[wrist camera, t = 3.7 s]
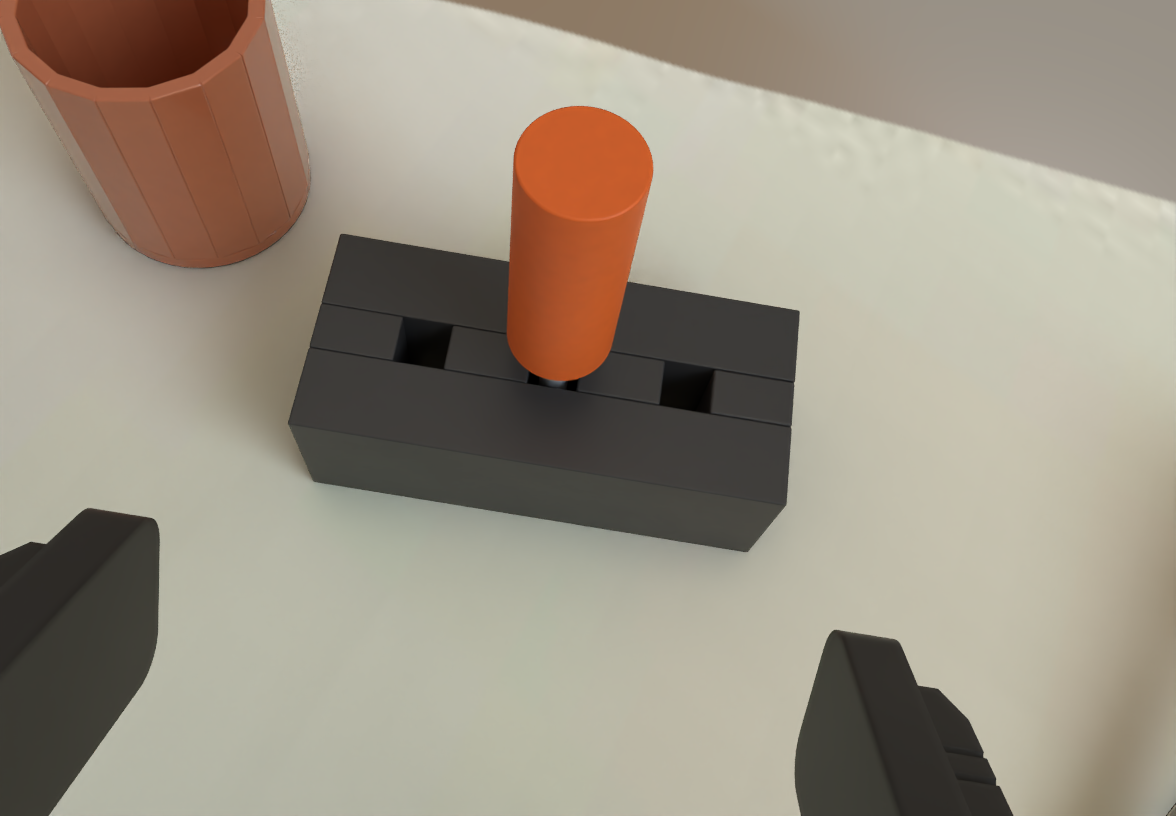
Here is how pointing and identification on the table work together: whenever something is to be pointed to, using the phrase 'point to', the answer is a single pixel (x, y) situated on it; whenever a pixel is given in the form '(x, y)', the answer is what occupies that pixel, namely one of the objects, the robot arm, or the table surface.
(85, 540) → the robot arm
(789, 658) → the table surface
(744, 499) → the holder
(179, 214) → the pen cup
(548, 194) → the orange screwdriver
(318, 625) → the table surface
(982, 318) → the table surface
